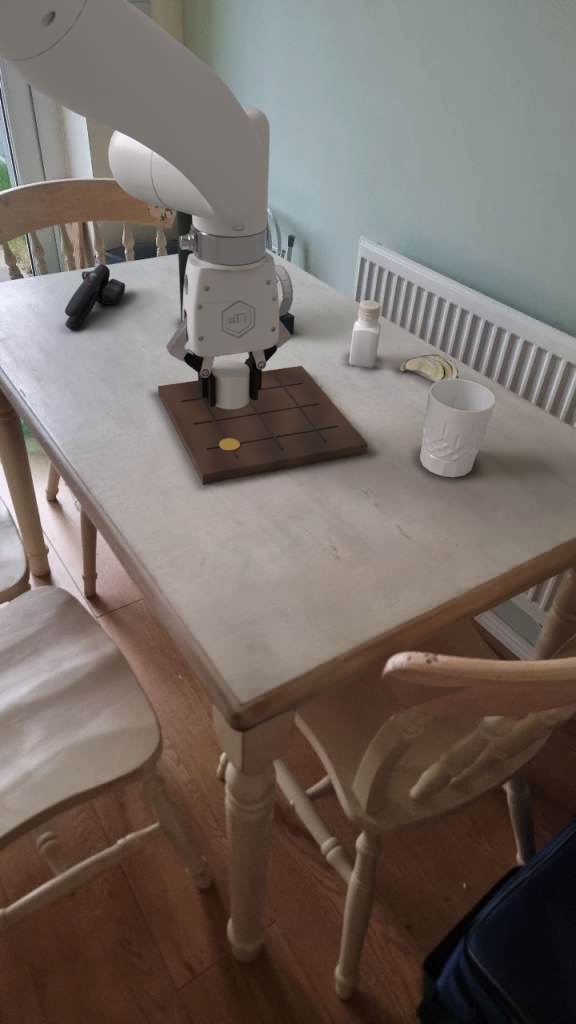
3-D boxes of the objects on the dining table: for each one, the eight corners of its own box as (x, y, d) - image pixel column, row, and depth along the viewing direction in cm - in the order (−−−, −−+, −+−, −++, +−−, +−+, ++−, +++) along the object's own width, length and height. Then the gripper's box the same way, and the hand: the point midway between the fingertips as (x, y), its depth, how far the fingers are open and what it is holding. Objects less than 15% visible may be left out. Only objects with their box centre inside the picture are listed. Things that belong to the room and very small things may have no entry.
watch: (273, 319, 120) (275, 255, 113) (299, 338, 115) (304, 272, 108) (245, 326, 118) (246, 261, 111) (271, 345, 113) (273, 278, 106)
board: (202, 484, 83) (202, 473, 82) (158, 395, 98) (157, 385, 97) (366, 453, 90) (367, 442, 89) (300, 374, 105) (301, 364, 104)
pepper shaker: (373, 369, 108) (382, 311, 102) (348, 366, 108) (355, 307, 102) (376, 358, 111) (384, 301, 105) (351, 354, 111) (358, 297, 105)
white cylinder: (217, 412, 81) (217, 381, 78) (206, 392, 84) (205, 363, 81) (254, 406, 82) (255, 376, 80) (242, 387, 85) (242, 357, 83)
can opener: (94, 289, 126) (90, 258, 123) (130, 294, 125) (127, 262, 122) (49, 329, 113) (43, 295, 109) (89, 335, 112) (85, 301, 108)
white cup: (439, 438, 94) (454, 372, 87) (488, 464, 90) (508, 396, 83) (402, 460, 89) (416, 391, 83) (453, 488, 85) (471, 419, 79)
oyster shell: (410, 402, 109) (467, 390, 102) (396, 395, 107) (453, 382, 100) (412, 366, 110) (469, 352, 103) (398, 358, 108) (455, 343, 101)
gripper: (157, 263, 66) (168, 426, 78) (319, 249, 71) (307, 403, 83) (140, 237, 71) (153, 393, 83) (292, 226, 77) (284, 373, 88)
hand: (230, 396), depth 83 cm, fingers closed on white cylinder, 4 cm apart
